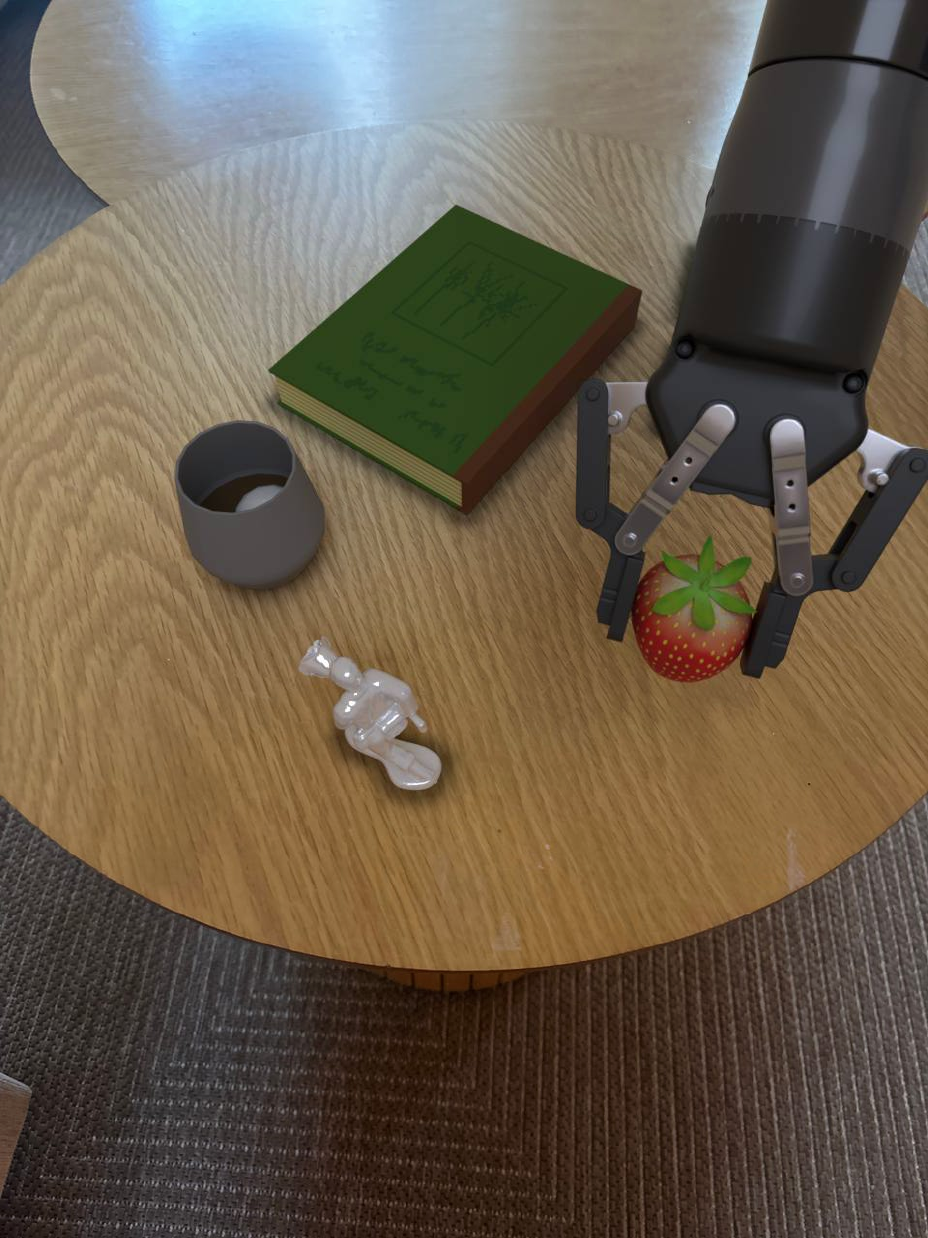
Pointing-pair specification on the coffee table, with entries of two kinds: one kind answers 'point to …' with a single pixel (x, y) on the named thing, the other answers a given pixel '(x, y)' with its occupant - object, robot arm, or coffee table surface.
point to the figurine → (376, 716)
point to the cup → (248, 505)
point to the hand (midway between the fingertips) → (682, 652)
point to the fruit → (692, 615)
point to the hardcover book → (457, 354)
